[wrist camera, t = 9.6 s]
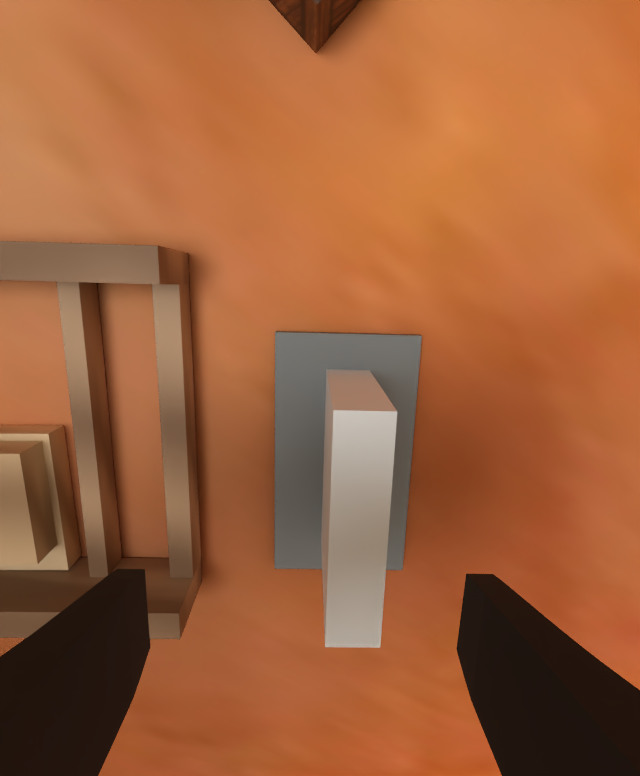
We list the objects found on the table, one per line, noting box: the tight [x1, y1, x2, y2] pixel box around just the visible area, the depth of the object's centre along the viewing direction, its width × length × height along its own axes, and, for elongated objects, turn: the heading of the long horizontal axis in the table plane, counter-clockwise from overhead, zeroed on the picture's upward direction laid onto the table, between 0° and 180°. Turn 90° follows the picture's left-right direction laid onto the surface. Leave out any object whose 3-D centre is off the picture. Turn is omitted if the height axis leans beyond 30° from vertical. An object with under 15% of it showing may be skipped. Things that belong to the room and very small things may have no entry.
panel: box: [321, 369, 397, 648], centre depth 16 cm, size 8×2×6 cm, turn 178°
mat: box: [275, 331, 422, 570], centre depth 19 cm, size 11×6×1 cm, turn 178°
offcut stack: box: [0, 425, 82, 570], centre depth 18 cm, size 6×3×3 cm, turn 0°
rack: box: [0, 241, 202, 639], centre depth 17 cm, size 15×12×4 cm
